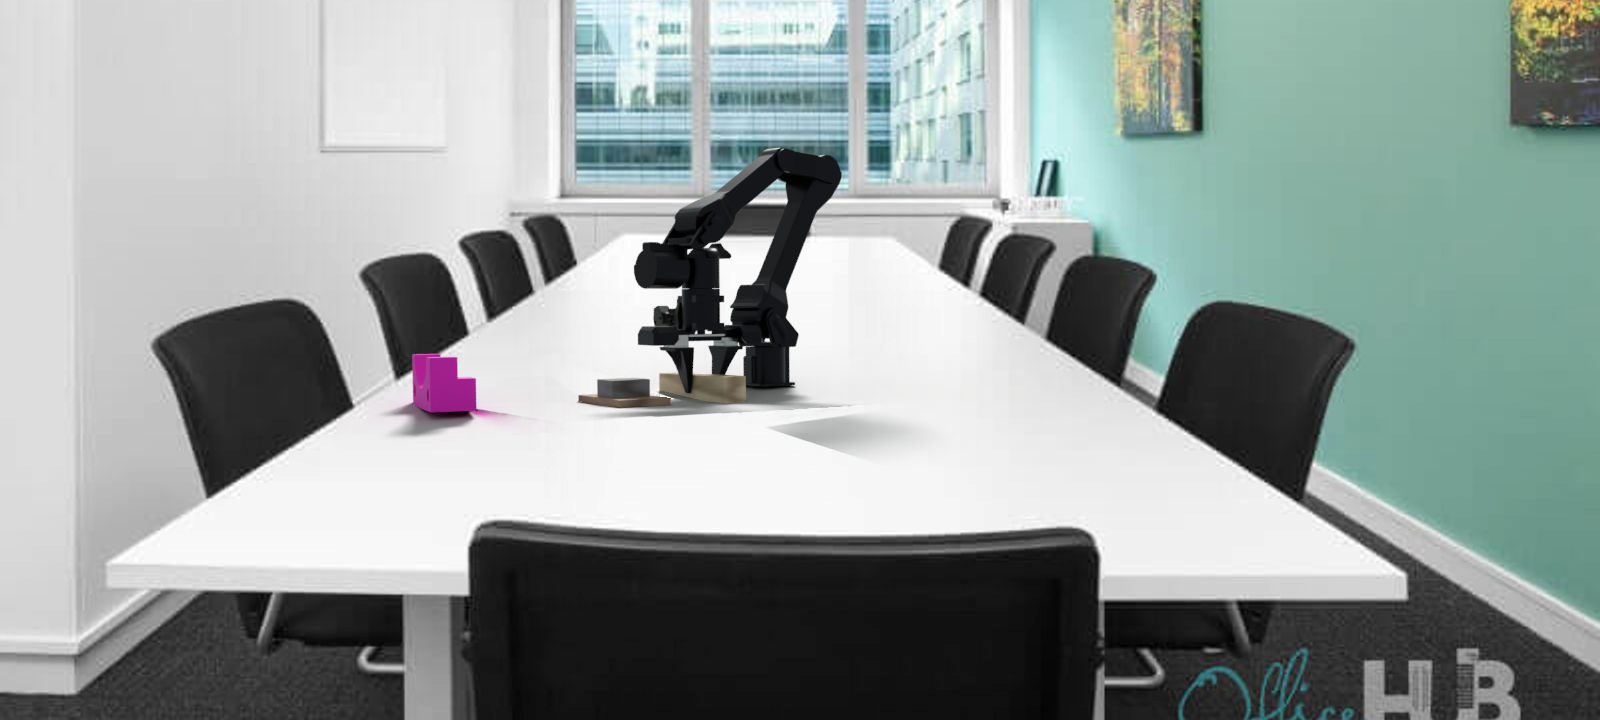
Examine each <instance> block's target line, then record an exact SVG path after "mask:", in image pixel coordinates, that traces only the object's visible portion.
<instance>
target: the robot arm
mask: <svg viewBox="0 0 1600 720" xmlns="http://www.w3.org/2000/svg"><path fill="white" fill-rule="evenodd" d="M842 174H843V173H842V171H841V168H840V165H839V162H838V161H837V160H836V158H835V157H833V156H831V155H829V154H822V155H818V154H817V155H816V154H811V153H810V154H809V153H805V152H800V151H795V150H792V149H789V148H786V147H783V146H782V147H775V148H774V147H773V148H767V149H765V150H763V151H762V152H761V153H760V154H759V155H758V157H756V158H755V159H754V160H753V161H752V162H750V163H749V164H748V165H747V166H745V168H743V169H742V170H741V171H740V172H739V173H737V174H736V175H735V176H734V177H733V178H731V179H730V180H729V181H727V182H726V183H725V184H724V185H723V186H721V187H720V188H719V189H718V190H716V191H715V192H714V193H712V194H709V195H708V196H705V197H702V198H700V199H699V198H698V199H697V200H695V201H693V202H691V203H689V204H687V205H685V206H683V207H681V208H680V209H679V210H678V211H676V214H675V216H674V224H672V226H671V228H670V229H669V231H668V233H667V235H666V236H665V238H664V240H663V241H662V243H660V242H659V241H658V242H657V241H649V242H648V241H644V242H643V243H642V246H641V247H642V251H640V252H639V254H637V257H636V260H635V264H634V265H633V275H634V278H635V281H636V283H637V285H638V286H639V287H640V288H642V289H645V290H646V289H647V290H648V289H649V290H651V289H655V290H656V289H661V290H662V289H663V290H664V289H665V290H668V289H669V290H670V289H671V290H673V289H674V290H675V289H676V290H677V289H679V288H681V295H677V299H676V306H675V308H670V307H669V306H668V305H657V306H655V307H654V308H653V317H652V319H653V326H652V325H650V326H647V325H646V326H641V327H640V328H639V330H638V333H637V346H651V347H652V346H653V347H654V346H655V347H656V346H659V350H660V351H662V352H663V351H665V352H666V353H667V354H668V356H669V357H670V358H671V360H672V362H673V364H674V366H675V368H676V370H677V371H676V372H678V374H679V376H680V379H681V382H682V385H683V387H684V390H685V393H691V389H692V381H693V373H694V357H695V355H694V353H695V347H694V346H693V347H691V346H689V345H690V343H689V342H706V341H707V342H713V344H712V345H708V346H707V347H708V350H709V352H710V355H711V374H719V375H727V371H728V370H729V367H730V365H731V363H732V361H733V360H734V359H735V358H734V357H735V356H736V354H737V353H738V351H739V350H743V348H744V347H745V355H743V361H742V362H743V364H742V365H743V369H742V370H743V376H746V386H749V387H763V388H764V387H781V386H782V387H783V386H796V381H795V382H793V381H790V377H791V376H790V373H791V371H790V370H791V369H790V348H793V347H794V348H795V347H797V343H798V340H799V333H798V331H797V330H796V328H795V327H794V326H793V325H792V323H791V322H790V321H789V319H787V315H788V311H789V301H788V295H787V294H788V293H787V288H788V286H789V283H790V280H791V278H792V276H793V273H794V271H795V269H796V265H797V263H798V260H799V257H800V256H801V252H802V250H803V247H804V244H806V243H805V242H806V239H807V237H808V235H809V232H810V230H811V227H812V225H813V222H814V219H815V217H816V214H817V213H818V211H819V210H821V208H822V207H823V206H824V205H825V204H827V202H828V201H829V200H831V199H832V197H833V196H834V194H835V193H836V190H837V188H838V187H839V185H840V183H841V180H842V176H843V175H842ZM777 180H778V181H779V182H782V183H785V186H784V187H785V188H784V189H785V192H786V199H787V202H786V206H785V208H784V210H783V213H782V215H781V217H780V220H779V222H778V226H777V228H776V231H775V233H774V236H773V238H772V240H771V243H770V244H769V245H770V246H769V248H768V250H767V253H766V256H765V257H764V261H763V262H762V265H761V267H760V269H759V273H758V275H757V277H756V279H755V280H754V281H753V282H752V284H740V285H739V287H738V288H737V291H736V295H735V298H734V300H733V303H732V304H731V305H730V306H729V308H730V309H732V310H731V313H730V322H731V324H725V322H721V304H720V303H725V295H721V293H720V292H721V290H720V289H721V288H720V287H721V285H720V284H721V283H720V260H726V259H729V260H730V259H731V258H732V254H731V253H730V252H729V251H728V250H727V249H726V248H724V246H723V245H722V243H721V242H719V241H721V240H722V239H723V238H724V237H725V236H726V234H727V233H728V232H729V230H730V229H731V228H732V227H733V226H734V222H735V220H736V216H737V215H738V213H740V211H741V210H743V209H744V208H745V207H747V205H749V204H750V203H751V202H752V201H753V200H754V199H756V198H757V197H758V196H759V195H761V193H763V192H764V191H765V190H767V188H769V187H770V186H772V185H773V183H775V182H776V181H777ZM709 244H710V246H709V247H706V246H707V245H709ZM689 250H690V252H688V251H689ZM706 331H707V332H711V333H706ZM766 339H769V341H767V340H766Z"/></svg>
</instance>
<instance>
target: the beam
mask: <svg viewBox="0 0 1600 720" xmlns="http://www.w3.org/2000/svg"><path fill="white" fill-rule="evenodd" d="M658 375H659V376H658V377H659V381H658V383H659V387H658V388H659V391H660V390H661V391H660V392H663V391H665V392H664V393H668V392H669V394H672V393H673V395H678V396H682V397H687V398H690V399H695V400H699V401H704V402H709V403H720V404H728V403H729V404H731V403H732V404H733V403H743V402H746V401H747V398H746V397H747V395H746V394H747V393H746V392H747V391H746V390H747V388H746V387H747V385H746V376H744V375H735V374H725V375H719V374H712V373H700V372H699V373H698V372H695V373H694V372H693V381H692V389H691V393H685V390H684V387H683V385H682V382H681V379H680V376H679V374H678V371H676V372H660V373H659V374H658Z"/></svg>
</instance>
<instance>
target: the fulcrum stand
mask: <svg viewBox="0 0 1600 720" xmlns="http://www.w3.org/2000/svg"><path fill="white" fill-rule="evenodd" d="M650 381H651V379H649V378H639V377H624V378H623V377H620V378H598V379H596V385H597V387H596V388H597V393H596V394H594V393H593V394H578V402H580V401H582V402H581V403H585V404H592V405H600V406H605V407H606V406H607V407H613V408H620V409H621V408H635V407H638V408H639V407H654V406H655V407H657V406H671V405H672V404H671V403H672V402H671V400H672V399H671V398H667V397H660V395H659V396H657V395H651V382H650Z"/></svg>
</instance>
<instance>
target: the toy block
mask: <svg viewBox="0 0 1600 720" xmlns="http://www.w3.org/2000/svg"><path fill="white" fill-rule="evenodd" d="M411 358H412V359H411V360H412V361H411V362H412V364H411V365H412V403H413V404H414V405H415V406H416V407H417V408H419V409H421V410H424V411H426V412H428V413H448V412H473V411H474V412H476V411H477V378H476V377H472V376H463V377H461V376H460V377H459V374H458V373H459V372H458V357H457V356H441V353H416V354H415V353H413V354H412V355H411Z"/></svg>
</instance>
